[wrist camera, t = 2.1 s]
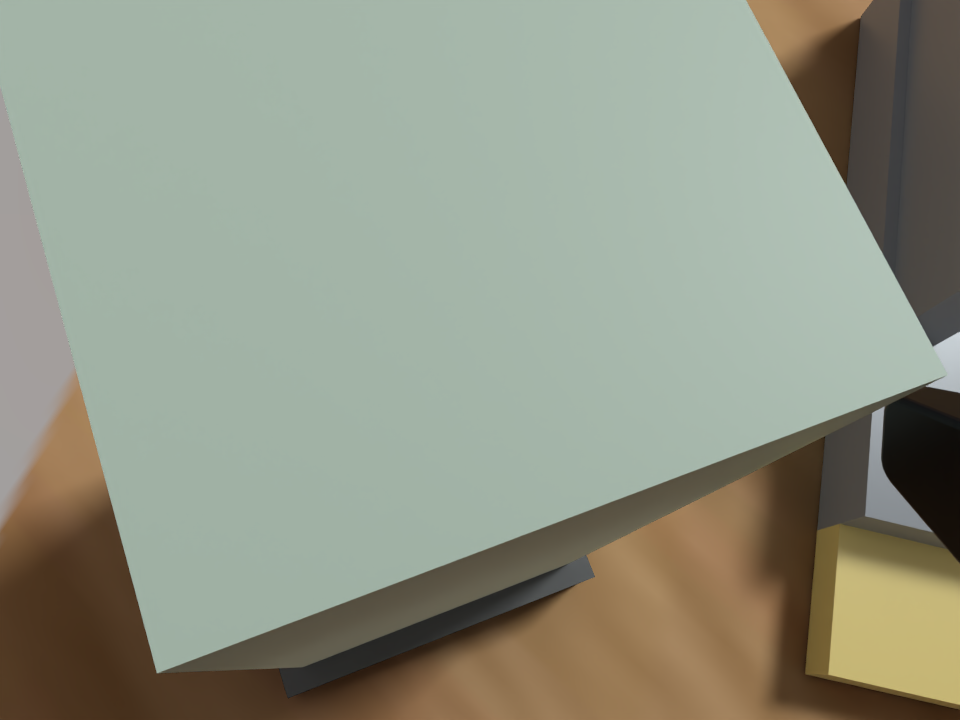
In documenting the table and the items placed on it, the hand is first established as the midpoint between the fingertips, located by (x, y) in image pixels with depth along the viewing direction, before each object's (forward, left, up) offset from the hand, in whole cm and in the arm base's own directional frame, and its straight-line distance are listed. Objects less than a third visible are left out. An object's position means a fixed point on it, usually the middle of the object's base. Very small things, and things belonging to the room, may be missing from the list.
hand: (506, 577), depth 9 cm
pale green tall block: (+3, 0, -10) cm, 10 cm away
